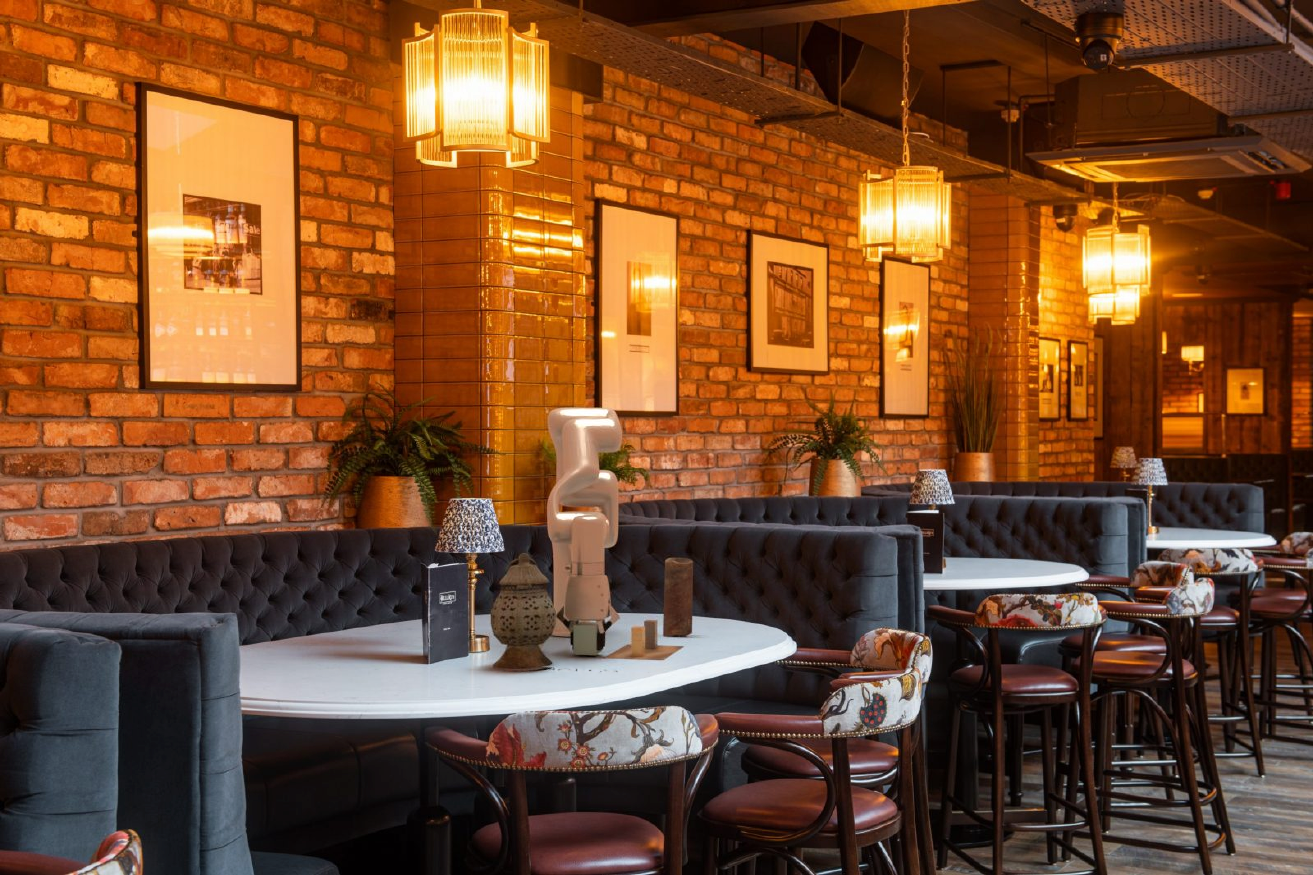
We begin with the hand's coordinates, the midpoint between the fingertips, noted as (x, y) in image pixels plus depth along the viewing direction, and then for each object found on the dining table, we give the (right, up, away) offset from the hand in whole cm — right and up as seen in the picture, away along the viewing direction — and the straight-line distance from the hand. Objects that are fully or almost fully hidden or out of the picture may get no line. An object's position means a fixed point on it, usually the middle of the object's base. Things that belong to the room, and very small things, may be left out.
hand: (587, 648), depth 313 cm
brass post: (+12, -2, 0) cm, 12 cm away
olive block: (0, -1, 0) cm, 1 cm away
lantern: (-14, -3, -11) cm, 18 cm away
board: (+13, -2, +6) cm, 14 cm away
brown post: (+14, -2, +11) cm, 18 cm away
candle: (+21, -3, +35) cm, 41 cm away
